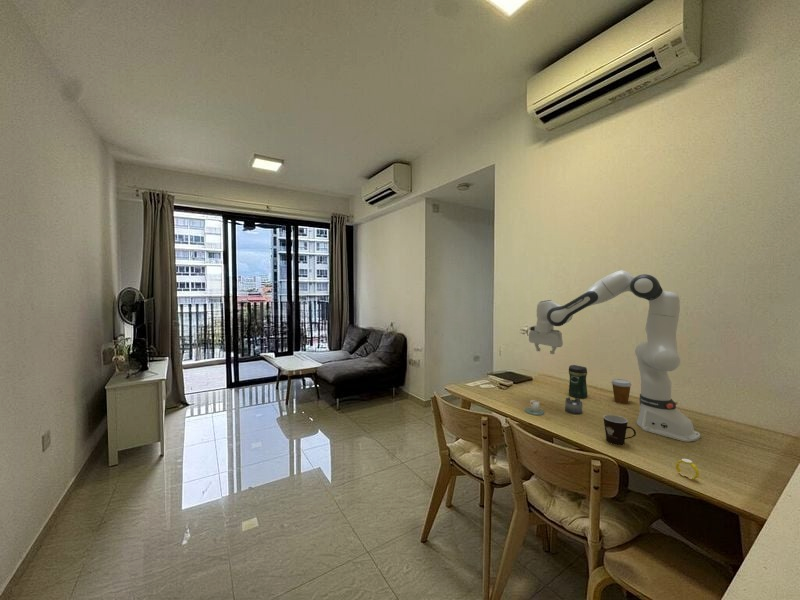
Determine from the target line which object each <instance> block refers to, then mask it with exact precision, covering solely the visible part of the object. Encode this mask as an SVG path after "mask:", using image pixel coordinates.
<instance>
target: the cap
mask: <svg viewBox="0 0 800 600" xmlns="http://www.w3.org/2000/svg"><path fill="white" fill-rule="evenodd" d="M529 402H530V403H529V405H530V411H531V412H539V409H540V400H534V399H531V400H530V401H529Z"/></svg>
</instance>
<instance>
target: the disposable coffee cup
mask: <svg viewBox="0 0 800 600" xmlns="http://www.w3.org/2000/svg"><path fill="white" fill-rule="evenodd" d="M611 385H612V390H613V398H614V402H616V403H618V404H624V405H625V404H628V403H629V398H630V393H631V387H632V382H631V381H630V380H628V379H624V378H623V379H620V378H612V380H611Z"/></svg>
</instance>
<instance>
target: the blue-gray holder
mask: <svg viewBox="0 0 800 600" xmlns="http://www.w3.org/2000/svg"><path fill="white" fill-rule="evenodd" d="M564 405H565V407H564V410H565V412H566V413H567V414H573V415H582V414H583V401H581V398H577V397H574V399H571V397H566V398H565V401H564Z"/></svg>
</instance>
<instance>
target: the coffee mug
mask: <svg viewBox="0 0 800 600" xmlns="http://www.w3.org/2000/svg"><path fill="white" fill-rule="evenodd" d="M602 416H603V417H602V418H603V425H604V431H605V439H606V441H608V442H607V443H609V444H611V443H612V444H611V445H614V444H615V445H614V446H624V445H625V442H626V440H627V439H628V440H629V439H632V438H634V437H636V435H637V433H636V430H635V429H634V428H633V427H632V426H628V419H627V418H626V417H624V416H621V415H615V414H604V415H602ZM628 429H629V430H630V429H631V430H632V431H633V435H630V436H627V435H626V434H627V430H628ZM626 436H627V437H626ZM623 444H624V445H623Z"/></svg>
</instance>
